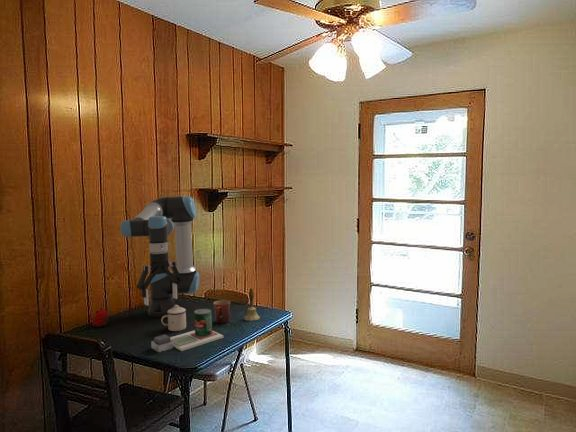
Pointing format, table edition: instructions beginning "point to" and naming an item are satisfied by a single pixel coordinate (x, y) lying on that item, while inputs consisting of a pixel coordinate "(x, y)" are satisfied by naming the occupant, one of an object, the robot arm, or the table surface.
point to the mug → (222, 311)
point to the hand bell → (251, 309)
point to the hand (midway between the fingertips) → (161, 301)
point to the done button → (162, 339)
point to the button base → (162, 346)
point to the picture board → (193, 340)
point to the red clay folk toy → (100, 317)
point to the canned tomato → (203, 322)
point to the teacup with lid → (176, 318)
